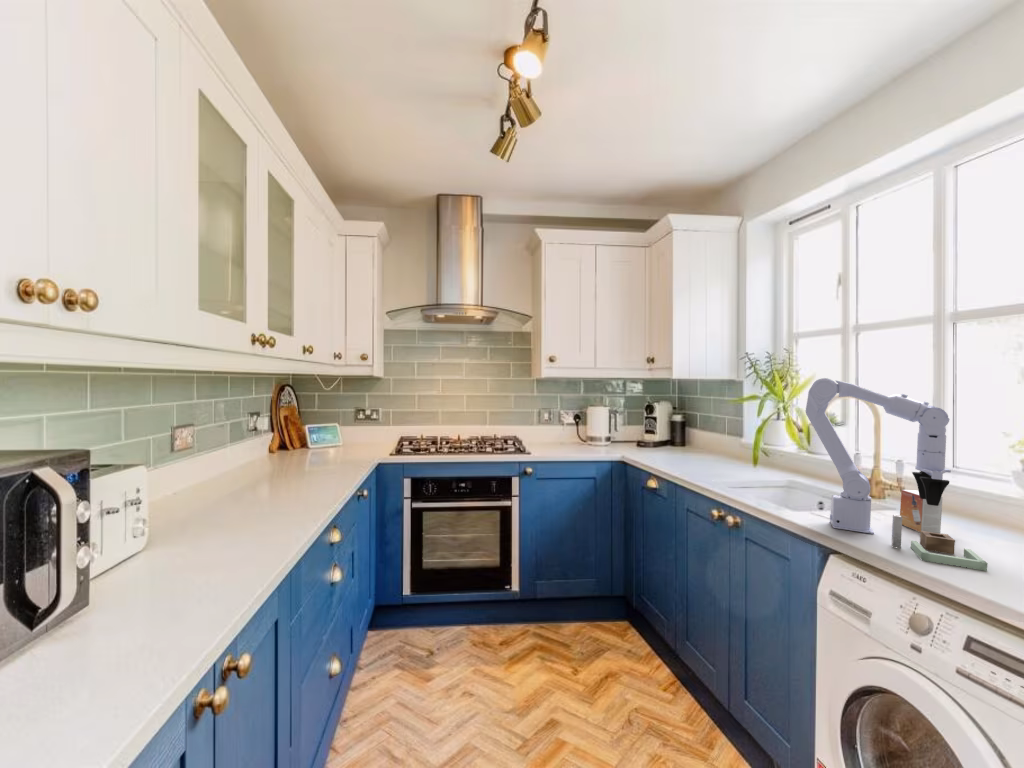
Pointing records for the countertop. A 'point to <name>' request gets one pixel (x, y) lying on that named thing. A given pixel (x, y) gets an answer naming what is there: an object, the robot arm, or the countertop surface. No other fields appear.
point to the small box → (919, 512)
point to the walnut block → (937, 542)
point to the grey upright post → (896, 531)
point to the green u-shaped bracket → (951, 558)
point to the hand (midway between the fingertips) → (928, 502)
